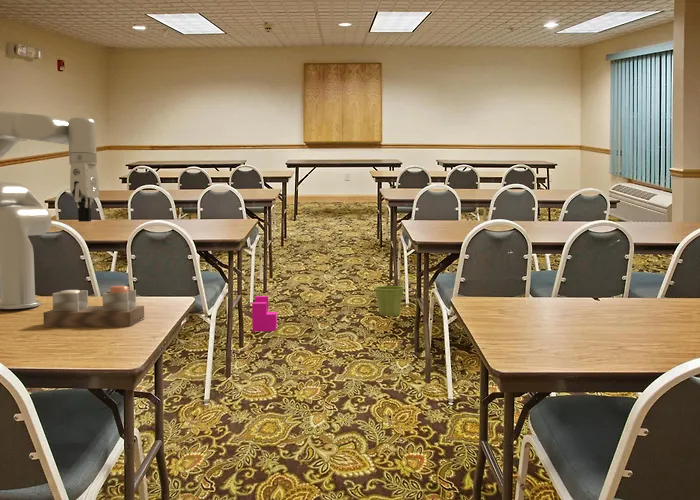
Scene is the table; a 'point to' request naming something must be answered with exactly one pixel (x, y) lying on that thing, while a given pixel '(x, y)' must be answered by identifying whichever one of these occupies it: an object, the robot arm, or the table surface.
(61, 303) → the button box
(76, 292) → the plunger white
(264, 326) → the toy block
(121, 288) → the plunger salmon pink
